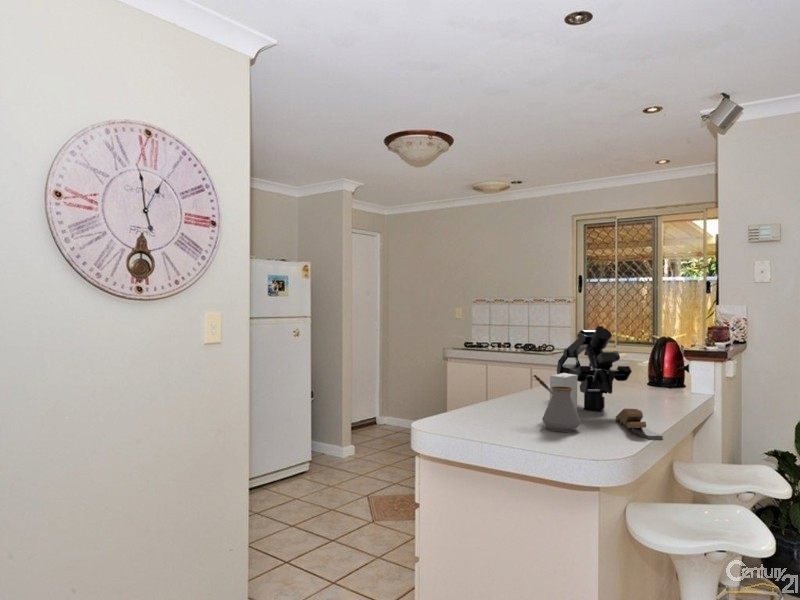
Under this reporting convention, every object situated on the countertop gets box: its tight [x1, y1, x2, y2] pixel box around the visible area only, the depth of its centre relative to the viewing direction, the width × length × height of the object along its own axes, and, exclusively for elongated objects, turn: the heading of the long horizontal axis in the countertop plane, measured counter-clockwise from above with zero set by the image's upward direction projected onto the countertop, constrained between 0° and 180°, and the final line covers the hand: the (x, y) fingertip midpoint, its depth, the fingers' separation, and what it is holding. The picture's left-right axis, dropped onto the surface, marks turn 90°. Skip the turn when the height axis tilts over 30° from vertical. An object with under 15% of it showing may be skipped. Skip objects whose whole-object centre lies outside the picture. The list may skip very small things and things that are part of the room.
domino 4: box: [625, 421, 647, 429], centre depth 163 cm, size 2×4×10 cm
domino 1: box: [615, 408, 639, 423], centre depth 175 cm, size 2×4×10 cm
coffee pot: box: [531, 374, 582, 433], centre depth 172 cm, size 21×12×15 cm, turn 19°
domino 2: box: [619, 409, 642, 425], centre depth 171 cm, size 2×4×10 cm
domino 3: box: [622, 411, 644, 427], centre depth 167 cm, size 2×4×10 cm
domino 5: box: [631, 427, 664, 440], centre depth 161 cm, size 2×4×10 cm
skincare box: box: [549, 373, 578, 411], centre depth 184 cm, size 8×6×15 cm
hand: (610, 392), depth 186 cm, fingers closed
